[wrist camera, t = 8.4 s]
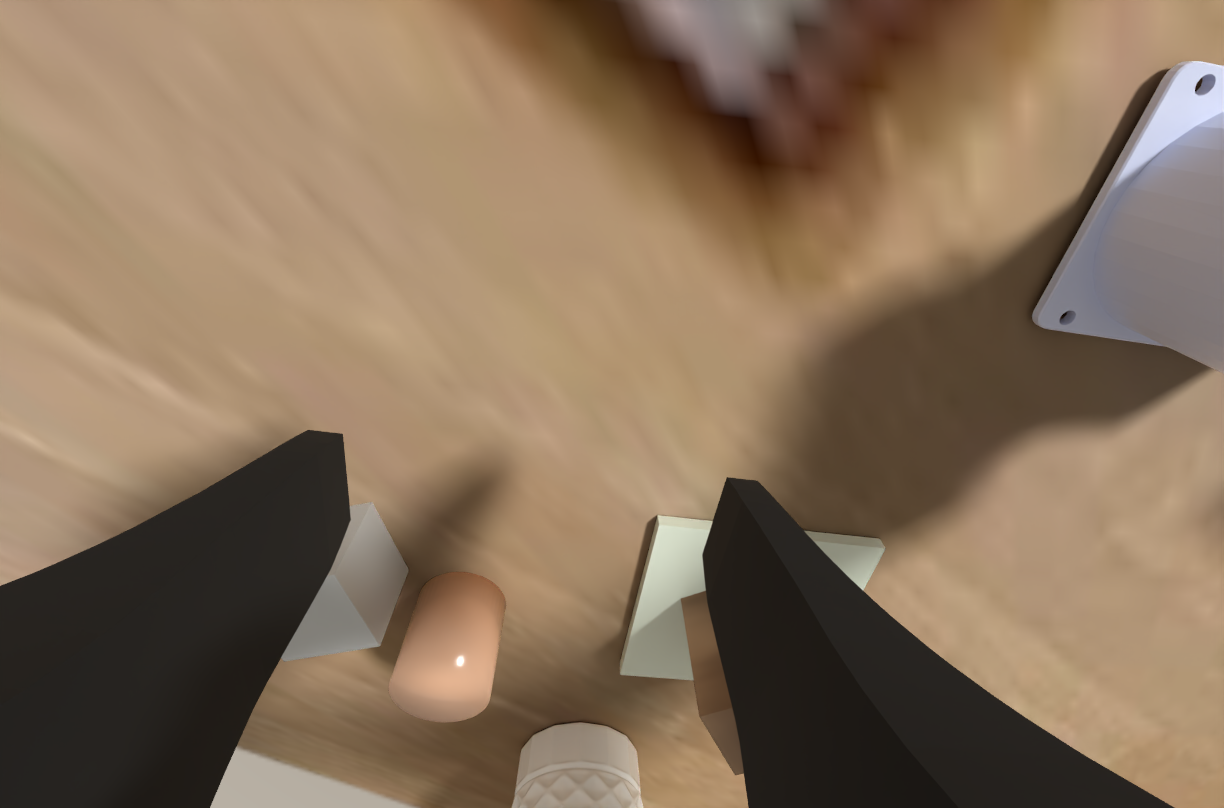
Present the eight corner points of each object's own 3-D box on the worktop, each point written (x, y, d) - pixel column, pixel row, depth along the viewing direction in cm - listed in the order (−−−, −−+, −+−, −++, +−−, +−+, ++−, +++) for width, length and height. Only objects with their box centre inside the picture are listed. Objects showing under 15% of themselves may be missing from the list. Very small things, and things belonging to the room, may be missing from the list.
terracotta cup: (508, 576, 26) (493, 665, 22) (503, 634, 28) (488, 725, 24) (418, 567, 25) (386, 656, 22) (419, 627, 27) (390, 719, 23)
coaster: (879, 538, 25) (885, 548, 25) (806, 678, 30) (810, 689, 30) (657, 515, 24) (658, 524, 24) (619, 664, 29) (620, 674, 29)
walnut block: (776, 568, 25) (818, 684, 20) (801, 630, 27) (844, 748, 22) (680, 598, 26) (699, 716, 21) (711, 655, 28) (735, 775, 23)
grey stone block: (372, 500, 24) (334, 574, 20) (409, 568, 26) (380, 646, 22) (282, 517, 24) (229, 592, 20) (325, 582, 26) (284, 661, 22)
